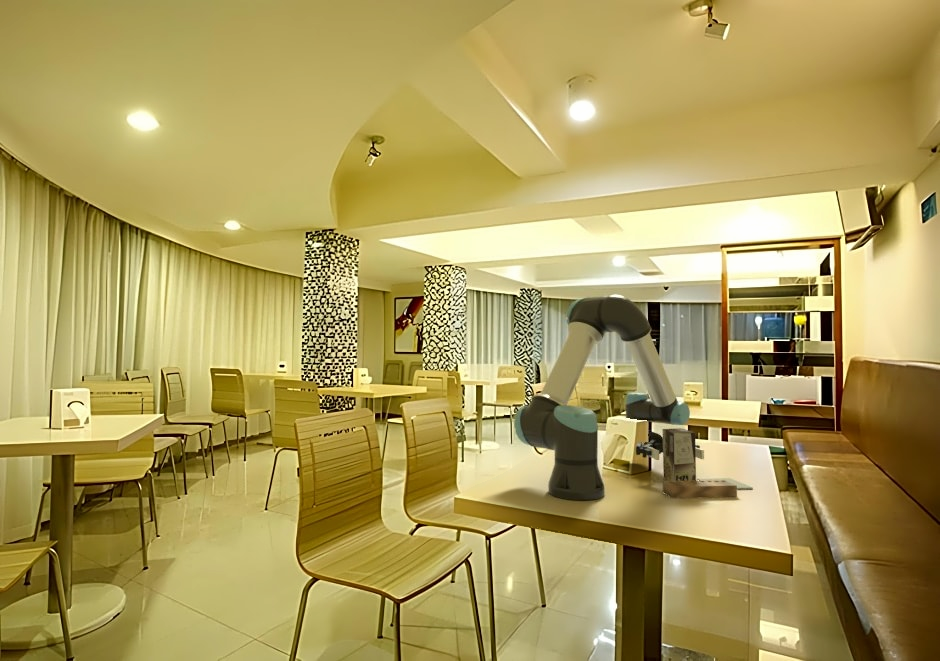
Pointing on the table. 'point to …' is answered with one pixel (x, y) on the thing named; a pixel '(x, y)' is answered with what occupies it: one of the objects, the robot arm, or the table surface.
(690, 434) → the coffee box
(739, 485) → the stub pad
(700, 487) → the perforated block
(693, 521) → the table surface
